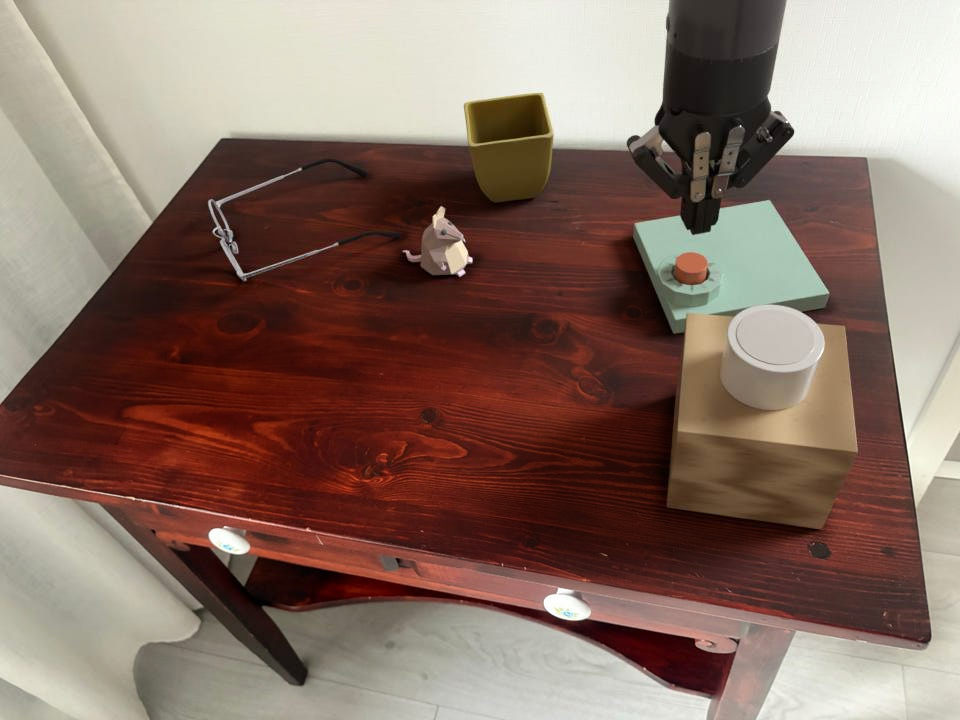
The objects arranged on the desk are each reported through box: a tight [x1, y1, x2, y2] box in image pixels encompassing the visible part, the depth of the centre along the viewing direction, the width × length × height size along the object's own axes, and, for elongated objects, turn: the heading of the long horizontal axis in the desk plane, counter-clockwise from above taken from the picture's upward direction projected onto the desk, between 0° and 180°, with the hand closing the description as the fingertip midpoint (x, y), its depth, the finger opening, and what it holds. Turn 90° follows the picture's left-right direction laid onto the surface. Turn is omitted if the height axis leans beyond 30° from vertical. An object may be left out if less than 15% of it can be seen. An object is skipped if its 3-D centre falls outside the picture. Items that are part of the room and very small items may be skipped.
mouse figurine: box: [402, 205, 473, 278], centre depth 76 cm, size 5×8×7 cm, turn 64°
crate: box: [666, 313, 859, 530], centre depth 55 cm, size 11×11×10 cm
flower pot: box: [463, 92, 555, 203], centre depth 82 cm, size 9×9×9 cm
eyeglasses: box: [207, 158, 404, 283], centre depth 82 cm, size 16×19×5 cm
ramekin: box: [720, 305, 825, 410], centre depth 50 cm, size 6×6×4 cm
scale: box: [632, 199, 830, 335], centre depth 72 cm, size 14×14×4 cm
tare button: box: [674, 252, 708, 285], centre depth 68 cm, size 3×3×2 cm
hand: (698, 227), depth 64 cm, fingers closed
